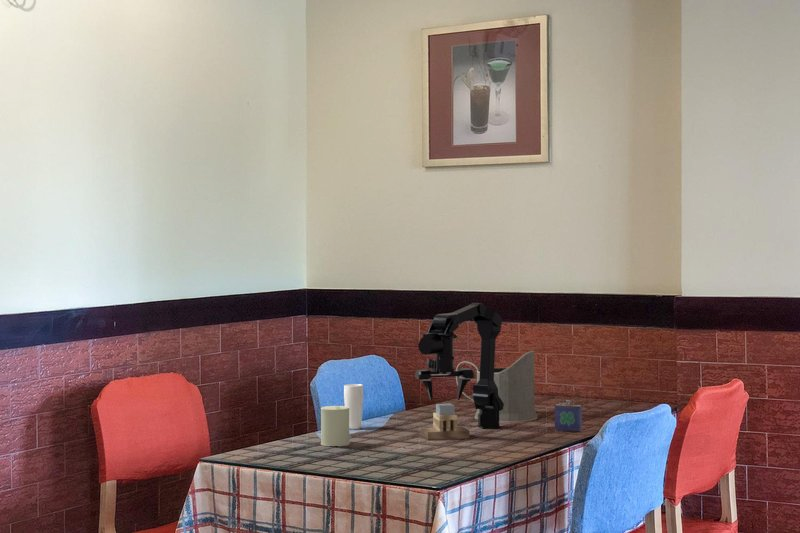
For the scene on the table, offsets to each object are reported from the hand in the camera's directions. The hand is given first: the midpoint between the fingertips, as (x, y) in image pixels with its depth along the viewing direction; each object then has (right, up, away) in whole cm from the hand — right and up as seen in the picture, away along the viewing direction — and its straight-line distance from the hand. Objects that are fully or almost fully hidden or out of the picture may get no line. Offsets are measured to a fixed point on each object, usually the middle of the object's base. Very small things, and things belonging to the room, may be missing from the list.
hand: (444, 400), depth 325 cm
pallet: (0, -10, 0) cm, 10 cm away
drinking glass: (-31, -12, +19) cm, 38 cm away
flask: (+42, -12, +9) cm, 45 cm away
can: (-35, -12, -12) cm, 39 cm away
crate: (0, -5, 0) cm, 5 cm away
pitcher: (+21, -12, +45) cm, 51 cm away
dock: (0, -12, 0) cm, 12 cm away
